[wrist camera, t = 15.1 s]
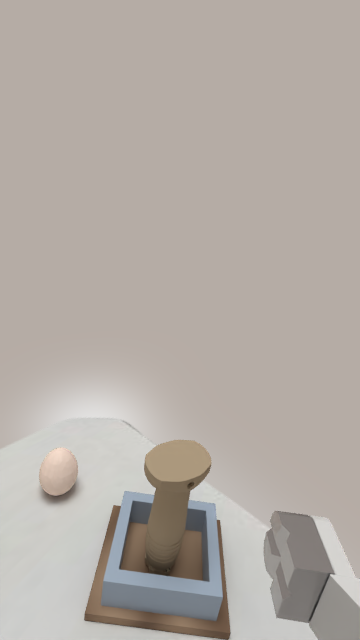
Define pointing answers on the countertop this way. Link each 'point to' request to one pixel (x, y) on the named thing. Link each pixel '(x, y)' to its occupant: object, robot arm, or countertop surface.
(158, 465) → the handle
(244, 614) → the countertop surface
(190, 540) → the board
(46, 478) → the egg
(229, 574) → the countertop surface
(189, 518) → the square frame
